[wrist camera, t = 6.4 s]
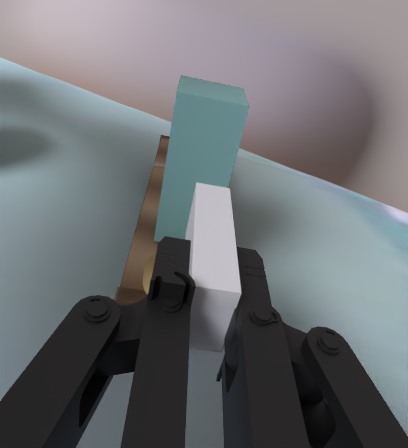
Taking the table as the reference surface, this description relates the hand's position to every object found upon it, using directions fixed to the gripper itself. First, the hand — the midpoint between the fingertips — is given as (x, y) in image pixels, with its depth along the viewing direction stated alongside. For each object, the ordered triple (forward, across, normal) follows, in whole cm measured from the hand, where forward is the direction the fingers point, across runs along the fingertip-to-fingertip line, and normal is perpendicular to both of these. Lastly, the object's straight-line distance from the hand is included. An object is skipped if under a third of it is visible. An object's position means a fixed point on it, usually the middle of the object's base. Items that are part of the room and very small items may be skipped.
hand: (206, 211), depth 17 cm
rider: (+8, 0, -8) cm, 11 cm away
